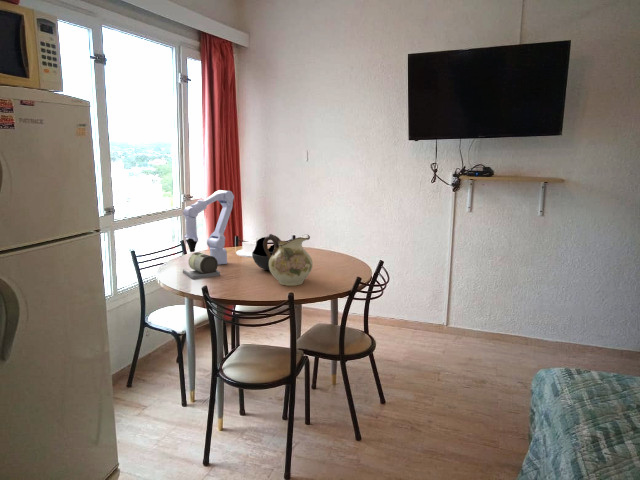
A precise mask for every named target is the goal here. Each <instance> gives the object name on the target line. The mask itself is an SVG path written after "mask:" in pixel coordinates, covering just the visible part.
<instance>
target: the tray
mask: <svg viewBox="0 0 640 480" xmlns="http://www.w3.org/2000/svg"><path fill="white" fill-rule="evenodd" d="M182 273H183V274H184V275H186V276H187V277H188V278H190V279H191V280H196V279H197V280H198V279H203V278H204V279H205V278H211V277H218V276H219V277H220V275H221V272H220V271H219V270H216V271H215V272H214V273H207V274H204V273H201V272H199V271H196V270H189V271H188V270H187V269H184V268H183V269H182Z"/></svg>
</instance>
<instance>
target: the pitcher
mask: <svg viewBox="0 0 640 480" xmlns="http://www.w3.org/2000/svg"><path fill="white" fill-rule="evenodd" d="M265 237H266V238H265V239H264V241H263V247H264V250H265V253H266V254H267V257H268V259H269V269H270V270H269V272H270V274H271V275H272V276H273V277H274V278H275V279H276V280H277V281H278V283H279V285H282V286H286V287H292V286H295V287H296V286H300V285H302V284H303V283H304V280H306V278H308V276H309V275H310V274H311V271H312V269H313V258H312V257H311V255H310V254H309V253H308V251H306V249H305V248H304V247H303V246H302V245H303V243H304V242H305V241H308V240H310V238H311V236H310V235H309V234H308V233H307V234H303V235H301V236H300V237H296V238H293V239H290V240H288V241H287V240H281V238H279V237H278V236H276V235H275V234H272V233H269V234H268V235H267V236H265ZM269 241H272V243H273V244H274V250H273V254H272V256H271V255H270V252H269V250H268V249H269V246H268V243H269ZM278 245H279V246H278Z"/></svg>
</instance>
